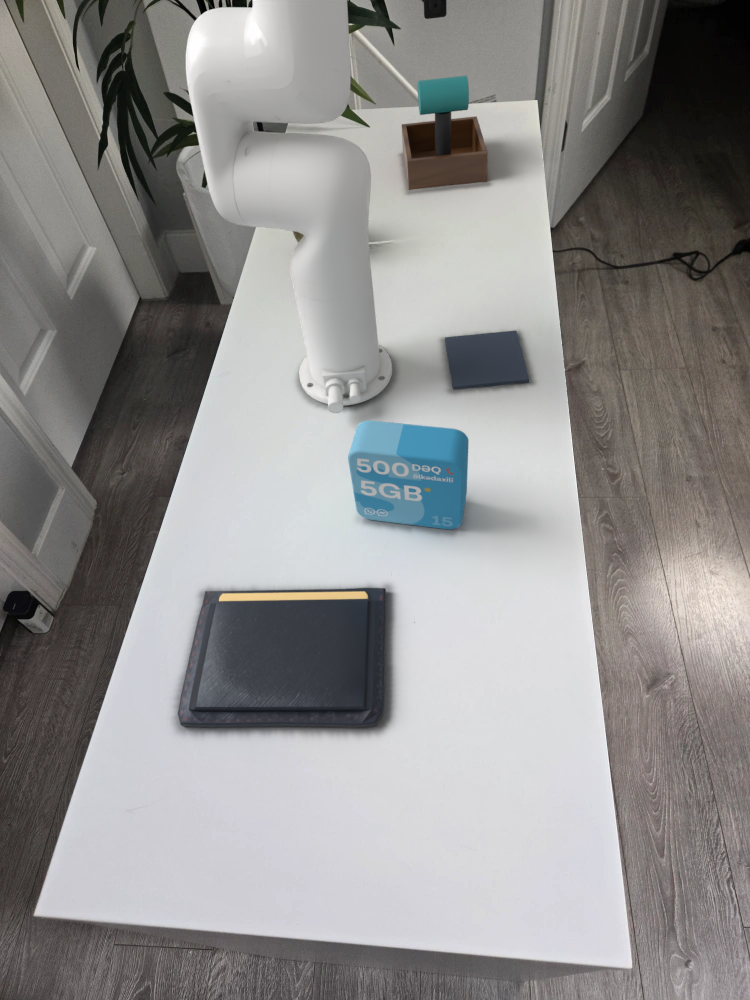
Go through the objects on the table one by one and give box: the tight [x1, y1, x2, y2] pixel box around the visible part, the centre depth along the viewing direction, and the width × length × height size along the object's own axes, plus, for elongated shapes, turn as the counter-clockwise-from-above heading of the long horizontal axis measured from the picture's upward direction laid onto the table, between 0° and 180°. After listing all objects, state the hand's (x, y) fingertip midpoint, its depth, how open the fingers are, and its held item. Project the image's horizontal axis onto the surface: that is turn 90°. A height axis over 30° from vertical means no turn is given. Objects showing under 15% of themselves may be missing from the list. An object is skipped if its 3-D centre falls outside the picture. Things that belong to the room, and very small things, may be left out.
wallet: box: [177, 587, 387, 729], centre depth 71 cm, size 20×2×15 cm
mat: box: [444, 329, 531, 391], centre depth 96 cm, size 10×10×1 cm
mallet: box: [417, 75, 470, 156], centre depth 122 cm, size 6×8×14 cm
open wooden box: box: [401, 116, 489, 191], centre depth 126 cm, size 14×14×6 cm
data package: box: [347, 419, 469, 530], centre depth 77 cm, size 12×4×12 cm, turn 78°
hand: (431, 4), depth 105 cm, fingers open, 9 cm apart
